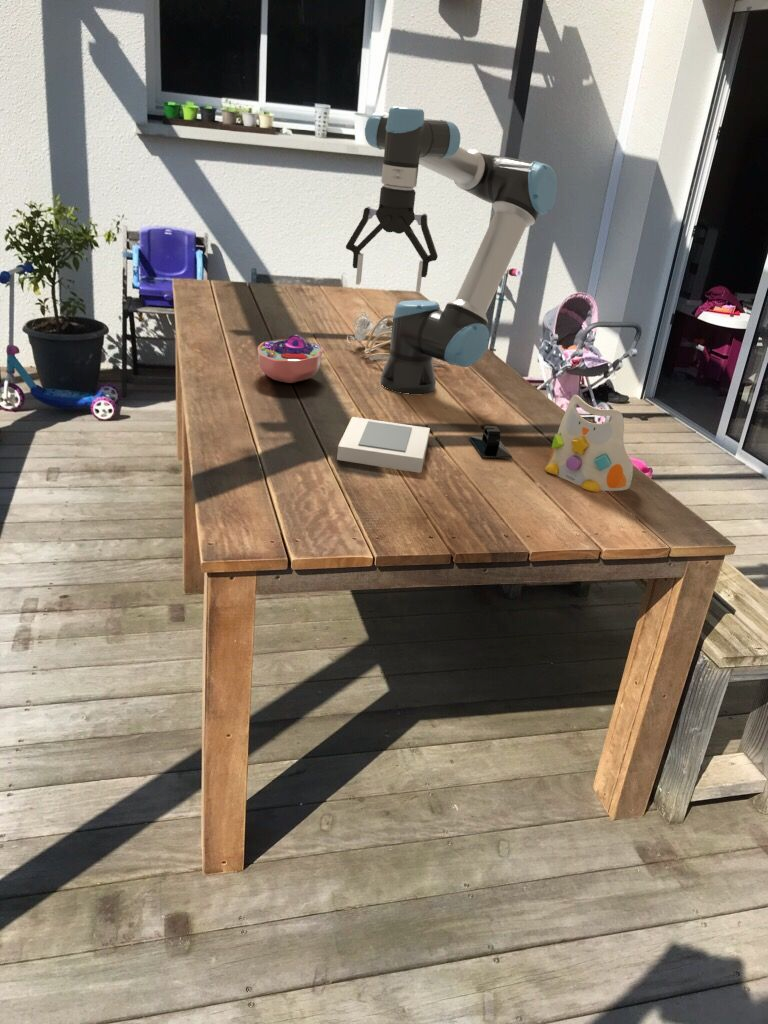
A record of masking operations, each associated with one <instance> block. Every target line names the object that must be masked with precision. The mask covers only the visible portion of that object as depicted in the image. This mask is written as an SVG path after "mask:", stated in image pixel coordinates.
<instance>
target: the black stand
mask: <svg viewBox="0 0 768 1024" xmlns="http://www.w3.org/2000/svg"><path fill="white" fill-rule="evenodd" d="M501 433H502V432H501V430H500V428H499V427H498V426H496V425H484V428H483V431H482V435H481V436H480V435H479V436H478V435H477V436H476V435H474V436H473V435H469V436H468V439H469V440H470V441H471V442H472V443H471V444H472V445H473V446H474V447H475V449H476V450H477V452H478V453H479V455H480V456H481V457H482V458H501V459H502V458H506V459H507V458H508V459H510V458H513V455H512V454H511V452H510V451H509V450H508V449H507V447H505V445H504V444H503V442H502V441H501Z"/></svg>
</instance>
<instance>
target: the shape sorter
mask: <svg viewBox="0 0 768 1024" xmlns="http://www.w3.org/2000/svg"><path fill="white" fill-rule="evenodd" d="M577 405H578V406H579V407H580V408H581V409H582V410H583V411H584V412H586V413H588V414H590V415H594V416H596V417H597V416H598V417H610V418H611V420H610V421H608V422H603V423H595V422H592V421H591V422H590V421H588V420H587V419H585V418H583V416H581V414H580V413H579V411H578V410H577ZM624 421H625V420H624V417H623V414H622V412H621V411H620V410H618V409H616V408H615V409H614V408H613V409H612V408H611V409H603V408H598V407H594V406H591V405H590V404H588V403H587V402H586V401H584V399H582V398H581V397H580V396H579V395H577V394H573V396H572V397H571V399H570V400H569V403H568V404H567V407H566V409H565V412H564V414H563V417H562V420H561V422H560V425H559V428H558V431H557V434H556V433H555V434H554V436H553V440H552V443H551V444H552V445H551V448H552V450H551V453H550V457H549V461H548V465H546V467H545V468H544V470H545V472H547V473H549V474H552V475H554V476H556V477H559V478H562V479H564V480H566V481H568V482H571V483H573V484H574V485H577V486H579V487H581V488H582V489H583V490H586V491H588V492H594V493H595V492H596V493H599V492H600V491H606V492H608V491H609V492H619V491H625V490H629V488H630V487H631V484H632V479H633V473H634V464H633V461H632V459H631V457H630V456H629V455H628V453H627V450H626V448H625V442H624V431H625V422H624Z"/></svg>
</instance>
